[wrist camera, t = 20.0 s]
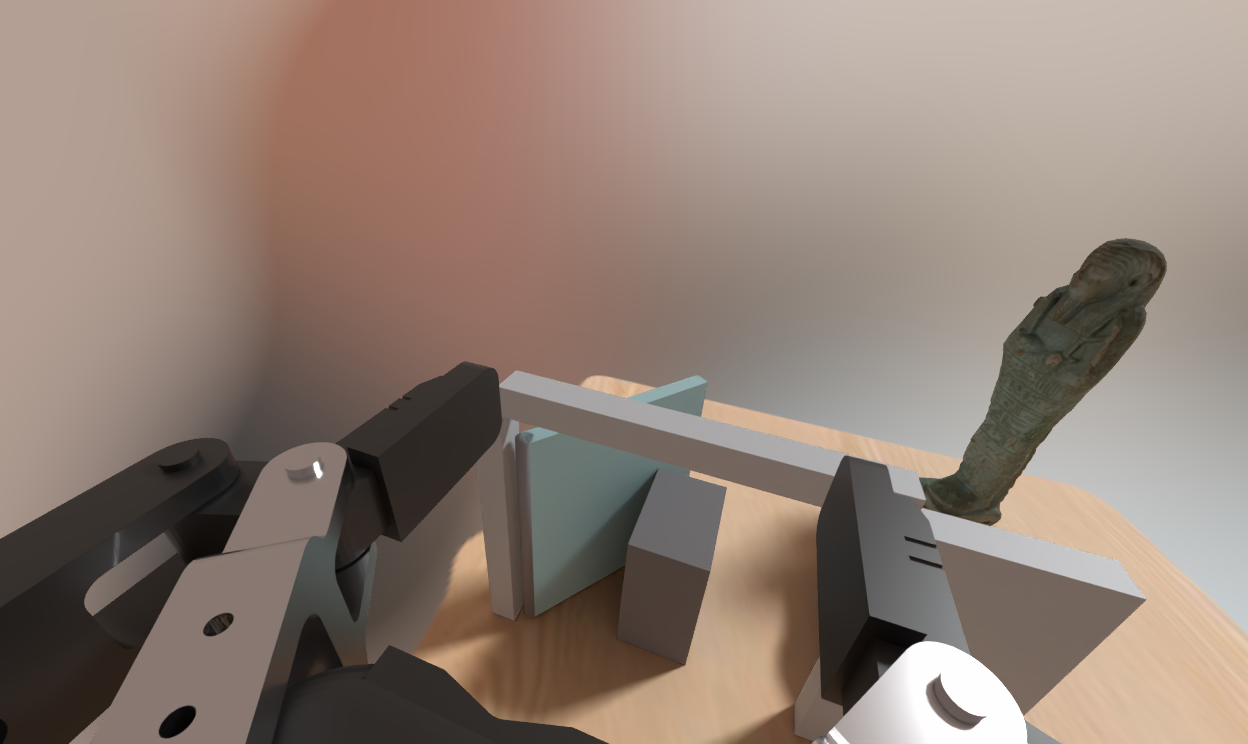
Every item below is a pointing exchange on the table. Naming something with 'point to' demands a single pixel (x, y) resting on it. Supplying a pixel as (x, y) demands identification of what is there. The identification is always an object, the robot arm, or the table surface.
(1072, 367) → the figurine
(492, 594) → the wall frame
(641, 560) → the doorstop block
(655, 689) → the table surface
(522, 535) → the door
